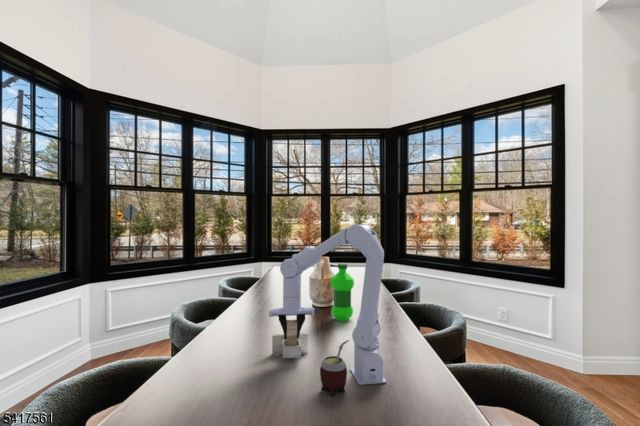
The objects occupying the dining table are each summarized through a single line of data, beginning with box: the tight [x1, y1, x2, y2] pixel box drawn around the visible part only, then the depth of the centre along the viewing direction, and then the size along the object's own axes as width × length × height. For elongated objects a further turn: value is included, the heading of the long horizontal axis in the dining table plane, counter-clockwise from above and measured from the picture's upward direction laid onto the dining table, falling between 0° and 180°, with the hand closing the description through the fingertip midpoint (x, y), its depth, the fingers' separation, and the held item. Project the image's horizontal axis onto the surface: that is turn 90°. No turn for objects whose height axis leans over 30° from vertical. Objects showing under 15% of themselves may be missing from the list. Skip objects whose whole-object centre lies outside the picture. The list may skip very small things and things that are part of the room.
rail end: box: [286, 319, 297, 346], centre depth 103 cm, size 3×3×8 cm
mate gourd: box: [319, 339, 350, 398], centre depth 85 cm, size 8×8×15 cm
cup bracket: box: [271, 332, 309, 359], centre depth 104 cm, size 8×12×6 cm
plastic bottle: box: [330, 263, 355, 322], centre depth 145 cm, size 10×10×25 cm
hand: (291, 338), depth 103 cm, fingers closed on rail end, 3 cm apart
